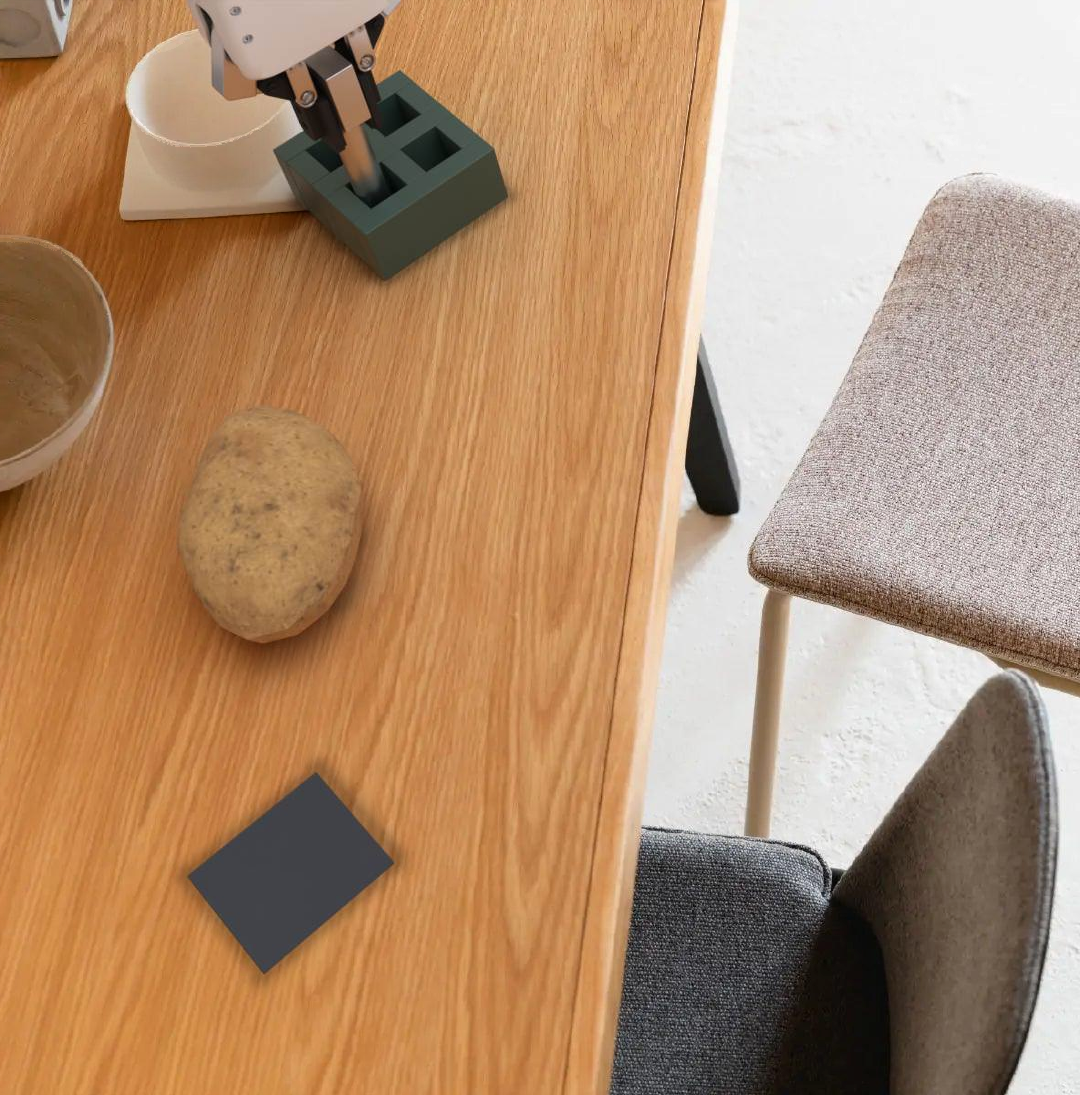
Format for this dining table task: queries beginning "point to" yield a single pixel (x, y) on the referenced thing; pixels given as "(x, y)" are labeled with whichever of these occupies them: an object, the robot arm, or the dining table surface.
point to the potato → (271, 523)
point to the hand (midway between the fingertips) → (346, 125)
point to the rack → (399, 179)
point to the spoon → (350, 122)
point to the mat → (290, 871)
